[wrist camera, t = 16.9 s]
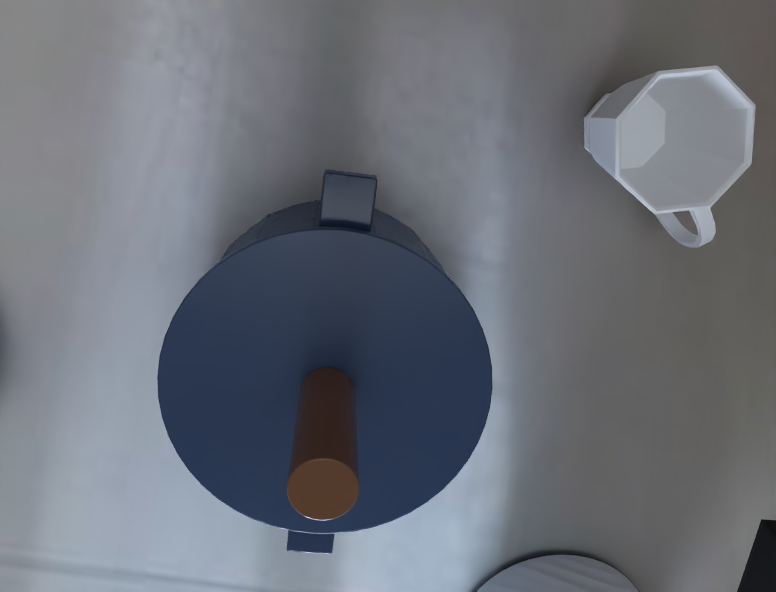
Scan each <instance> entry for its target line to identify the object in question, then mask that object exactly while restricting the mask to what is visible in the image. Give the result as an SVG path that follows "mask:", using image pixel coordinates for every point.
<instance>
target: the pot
mask: <svg viewBox="0 0 776 592" xmlns="http://www.w3.org/2000/svg"><path fill="white" fill-rule="evenodd" d="M376 188H377V177H376V176H375V175H368V174H360V173H351V172H343V171H335V170H325V171H324V177H323V187H322V197H321V200H319V201H318V200H316V201H313V202H307V203H302V204H298V205H294V206H291V207H288V208H285V209H282V210H280V211H277V212H274V213H271V214H268V215H267V216H266V217H265V218H263V219H262V220H261V221H260V222H258V223H257V224H255V225H254V226H252V227H251V228H250V229H249V230H248V231H247V232H246V233H244V234H243V235H242V236H241V237H240V238H238V239H237V240H236V241H235V242H233V243H232V244H231V245H230V247H229V248H228V250H227V251H226V253H225V254H224V256H223V257H222V259H221V260H223V259H224V258H226V257H227V256H228V255H230V254H231V253H233V252H234V251H236V250H238V249H240V248H242V247H244V246H246V245H248V244H250V243H252V242H254V241H256V240H259V239H261V238H264V237H267V236H270V235H273V234H276V233H280V232H284V231H289V230H294V229H298V228H309V227H321V226H325V227H346V228H351V229H357V230H363V231H368V232H372V233H375V234H378V235H381V236H384V237H387V238H390V239H393V240H395V241H397V242H399V243H401V244H403V245H406V246H408V247H410V248H412V249H413V250H415V251H416V252H418V253H419V254H421V255H423V256H424V257H426V258H427V259H429V260H430V261H431V262H432V263H434V264H435V265H436V266H437V267H438V268H440V269H441V270H442V271H443V272H444V273H445V271H444V269H443V268H442V266H441V265H440V263H439V262H438V261H437V260H436V258H435V257H434V256H433V255H432V253H431V252H430V250H429V249H428V247H427V246H426V245H425V244H424V243H423V242H422V240H421V239H420V238H419V237H418V235H417V234H416V233H415V232H414V231H413V230H412V229H411V228H409V227H407V226H405V225H404V224H402V223H401V222H399V221H398V220H396V219H394V218H393V217H391V216H389V215H387V214H385V213H383V212H381V211H379V210H377V209H374V205H375V196H376ZM221 260H220V261H221ZM333 541H334V533H333V534H325V533H305V532H297V531H291V530H289V531H288V541H287V551H291V552H306V553H322V554H331V553H332V549H333Z"/></svg>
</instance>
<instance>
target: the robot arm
mask: <svg viewBox="0 0 776 592" xmlns="http://www.w3.org/2000/svg"><path fill="white" fill-rule="evenodd" d="M737 592H776V520H762V519H761V522H760V525H759V528H758V531H757V534H756V537H755V540H754V543H753V546H752V549H751V552H750V555H749V558H748V561H747V564H746V567H745V570H744V573H743V576H742V579H741V582H740V585H739V588H738V591H737Z"/></svg>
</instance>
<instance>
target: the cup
mask: <svg viewBox="0 0 776 592" xmlns="http://www.w3.org/2000/svg"><path fill="white" fill-rule="evenodd" d="M755 107H756V105H755V104H754V103H753V102H752V101H751V100H750V99H749V98H748V97H747V96H746V95H745V94H744V93H743V92H742V91H741V89H740V88H739V87H738V86H737V85H736V84H735V83H734V82H733V81H732V80H731V79H730V78H729V77H728V76H727V75H726V74H725V73H724V72H723V71H722V70H721V69H720V68H719V67H718V66H706V67H696V68H685V69H675V70H665V71H657V72H654V73H652V74H649V75H646V76H644V77H642V78H639V79H637V80H634V81H631V82H628V83H625V84H623V85H622V86H620V87H619V88H618V89H616V90H615V91H614V92H612V93H607V94H604V95H603V96H602V98H601V99H600V100H599V101H598V102H597V103H596V104H595V106H594V107H593V108H592V109H591V110H590V111H589V112H588V114H587V115H586V116H585V117H584V148H585V149H586V150H587V151H588V152H590V153H591V154H592V156H593V158H594V160H595V161H596V162H597V163H598V164H600V165H601V166H602V167H603V168H604V169H605V170H606V171H607V172H608V173H609V174H610V175H611V176H613V177H614V178H615V179H616V180H617V181H618V182H619V183H620V184H621V185H622V186H623V187H625V188H626V189H627V190H628V191H629V192H630V193H632V194H633V195H634V196H635V197H636V198H637V199H638V200H639V201H640V202H641V203H642V204H643V205H645V206H646V207H647V208H648V209H649V210H650V211H651V212H652V213H654V214H655V215H656V217H657V218H658V220H659V221H660V223H661V224H662V225H663V226H664V228H665V229H666V230H667V231H668V233H669V234H670V235H671V236H672V237H673V238H674V239H675V240H677V241H678V242H679V243H680V244H681V245H684V246H687V247H690V248H693V247H700V246H702V245H704V244H706V243H708V242H710V241H712V239H713V237H714V235H715V233H716V229H715V222H714V219H713V216H712V213H711V210H710V207H711V206H712V205H713V204H714V203H715V202H716V201H717V200H718V199H719V198H720V197H721V196H722V195H723V194H724V193H725V192H726V191H727V190H728V188H729V187H730V186H731V185H732V184H733V183H734V182H735V181H736V180H737V179H738V178H739V177H740V176H741V175H742V174H743V173H744V172H745V171H746V170H747V168H748V167H749V166H750V165H751V164H752V150H753V135H754V121H755ZM679 211H690V213H691V215H692V218H693V220H694V222H695V224H696V226H697V230H698V235H695V234H692V233H691V232H690V231H688V230H687V229H686V228H685V227H684V226H682V225H681V223H680V222H679V221H678V219H677V218H676V217H675V215H674V214H673V213H672V212H679Z"/></svg>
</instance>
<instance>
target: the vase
mask: <svg viewBox="0 0 776 592" xmlns="http://www.w3.org/2000/svg"><path fill="white" fill-rule="evenodd" d="M477 592H638V590H637V589H636V588H635V587H634V586H633V584H632V583H631V582H630V581H629V580H628V579H627V578H626V577H625V576H624V575H623V574H621V573H620V572H619V571H618V570H616V569H614V568H613V567H611V566H609V565H607V564H605V563H603V562H600V561H597V560H594V559H592V558H587V557H582V556H576V555H550V556H542V557H538V558H533V559H529V560H526V561H523V562H520V563H518V564H515V565H513V566H511V567H509V568H507V569H505V570H503V571H501V572H500V573H498V574H497V575H495V576H494V577H492V578H491V579H490V580H488V581H487V582H486V583H485V584H484V585H483V586H482V587H481V588H480V589H479V590H477Z"/></svg>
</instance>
